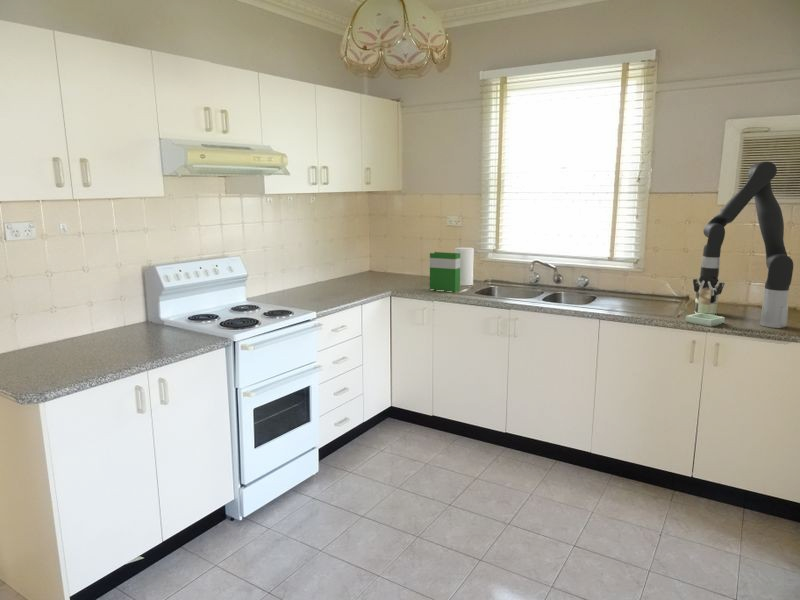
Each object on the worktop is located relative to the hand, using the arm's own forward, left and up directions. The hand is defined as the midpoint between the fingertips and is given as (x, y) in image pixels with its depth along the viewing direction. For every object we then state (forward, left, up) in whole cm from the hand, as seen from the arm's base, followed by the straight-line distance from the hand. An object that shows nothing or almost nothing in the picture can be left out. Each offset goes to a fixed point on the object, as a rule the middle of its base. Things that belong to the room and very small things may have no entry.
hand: (706, 302), depth 262 cm
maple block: (0, 0, -1) cm, 1 cm away
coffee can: (+11, -21, -10) cm, 26 cm away
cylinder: (+150, +23, -10) cm, 152 cm away
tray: (0, 0, -10) cm, 10 cm away
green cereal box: (+140, +47, -10) cm, 148 cm away
